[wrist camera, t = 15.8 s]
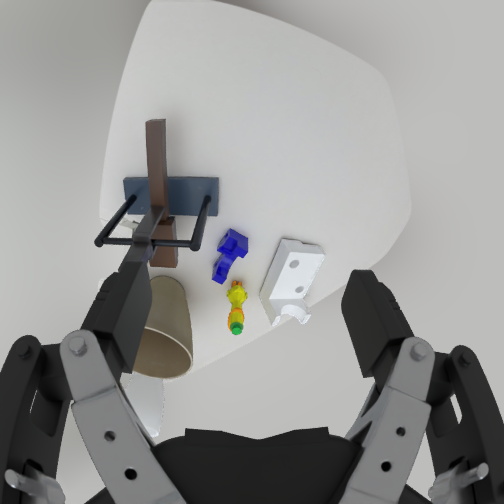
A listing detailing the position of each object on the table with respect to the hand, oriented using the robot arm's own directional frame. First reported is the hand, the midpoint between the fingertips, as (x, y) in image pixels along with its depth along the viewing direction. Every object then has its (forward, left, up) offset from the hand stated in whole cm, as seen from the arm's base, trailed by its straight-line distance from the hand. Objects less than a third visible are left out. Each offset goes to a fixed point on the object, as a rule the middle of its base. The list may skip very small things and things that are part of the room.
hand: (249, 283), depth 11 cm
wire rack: (+10, -11, -32) cm, 35 cm away
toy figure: (+28, 0, -32) cm, 43 cm away
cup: (+54, -21, -32) cm, 66 cm away
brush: (+7, -11, -26) cm, 30 cm away
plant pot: (+30, -14, -32) cm, 46 cm away
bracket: (+24, +10, -32) cm, 41 cm away
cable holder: (+20, -2, -32) cm, 38 cm away
